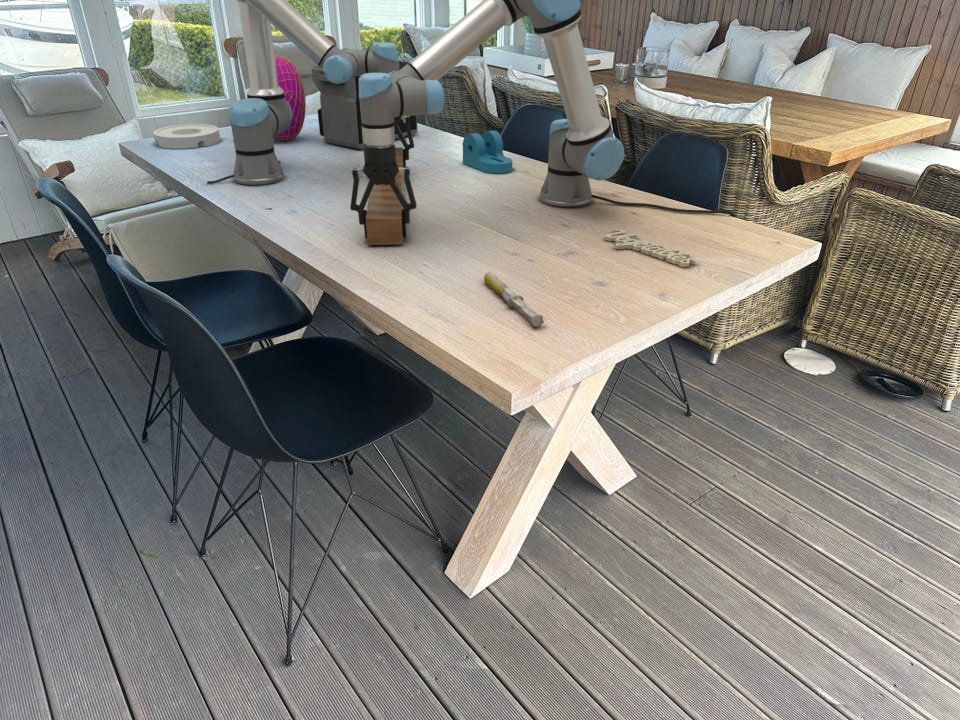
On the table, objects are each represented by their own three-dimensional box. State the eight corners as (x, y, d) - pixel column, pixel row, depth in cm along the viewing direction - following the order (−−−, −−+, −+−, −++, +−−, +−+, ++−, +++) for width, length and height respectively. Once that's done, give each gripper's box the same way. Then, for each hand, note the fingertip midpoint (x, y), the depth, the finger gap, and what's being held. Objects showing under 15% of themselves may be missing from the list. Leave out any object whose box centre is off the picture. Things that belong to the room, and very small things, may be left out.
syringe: (480, 279, 152) (480, 268, 151) (495, 277, 153) (495, 266, 152) (526, 330, 132) (527, 317, 131) (544, 326, 134) (545, 314, 132)
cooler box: (381, 126, 286) (376, 48, 271) (421, 134, 275) (419, 52, 260) (314, 143, 261) (305, 57, 245) (356, 151, 250) (349, 62, 234)
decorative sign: (591, 236, 174) (616, 227, 180) (591, 240, 174) (616, 231, 180) (679, 267, 157) (703, 256, 163) (678, 271, 158) (703, 260, 163)
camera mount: (462, 163, 238) (462, 131, 233) (487, 158, 243) (487, 128, 238) (493, 175, 225) (494, 142, 220) (518, 170, 230) (519, 138, 225)
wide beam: (402, 244, 169) (401, 218, 166) (367, 245, 169) (365, 219, 165) (403, 167, 230) (402, 147, 227) (377, 167, 229) (376, 147, 226)
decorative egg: (293, 132, 276) (283, 50, 261) (319, 140, 264) (310, 56, 249) (249, 139, 265) (236, 54, 250) (273, 148, 253) (261, 60, 238)
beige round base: (171, 134, 271) (168, 123, 269) (229, 135, 270) (227, 124, 268) (144, 148, 251) (141, 136, 249) (207, 149, 251) (205, 138, 249)
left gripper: (421, 95, 218) (422, 166, 230) (353, 94, 216) (358, 166, 228) (421, 99, 212) (423, 172, 223) (351, 99, 210) (356, 173, 221)
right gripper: (424, 140, 165) (428, 229, 177) (334, 141, 164) (343, 232, 175) (425, 147, 159) (428, 240, 170) (331, 149, 157) (341, 242, 169)
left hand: (390, 169), depth 226 cm, fingers closed on wide beam, 9 cm apart
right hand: (385, 236), depth 173 cm, fingers closed on wide beam, 9 cm apart
